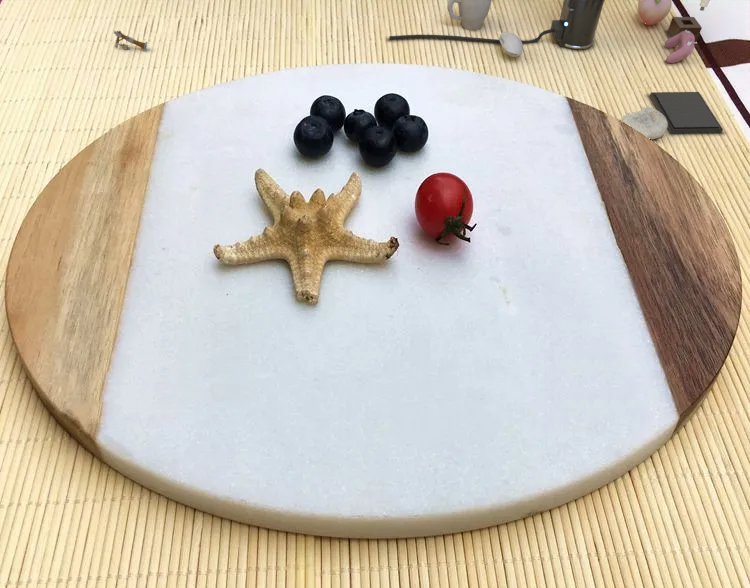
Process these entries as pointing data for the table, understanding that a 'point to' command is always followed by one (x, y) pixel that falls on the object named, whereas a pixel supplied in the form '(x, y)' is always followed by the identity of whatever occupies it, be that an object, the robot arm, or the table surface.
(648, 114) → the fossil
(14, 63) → the table surface
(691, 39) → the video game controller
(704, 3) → the stylus
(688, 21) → the pen block
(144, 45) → the wooden post with brackets
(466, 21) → the mug
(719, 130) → the tablet
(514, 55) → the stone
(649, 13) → the decorative fruit
